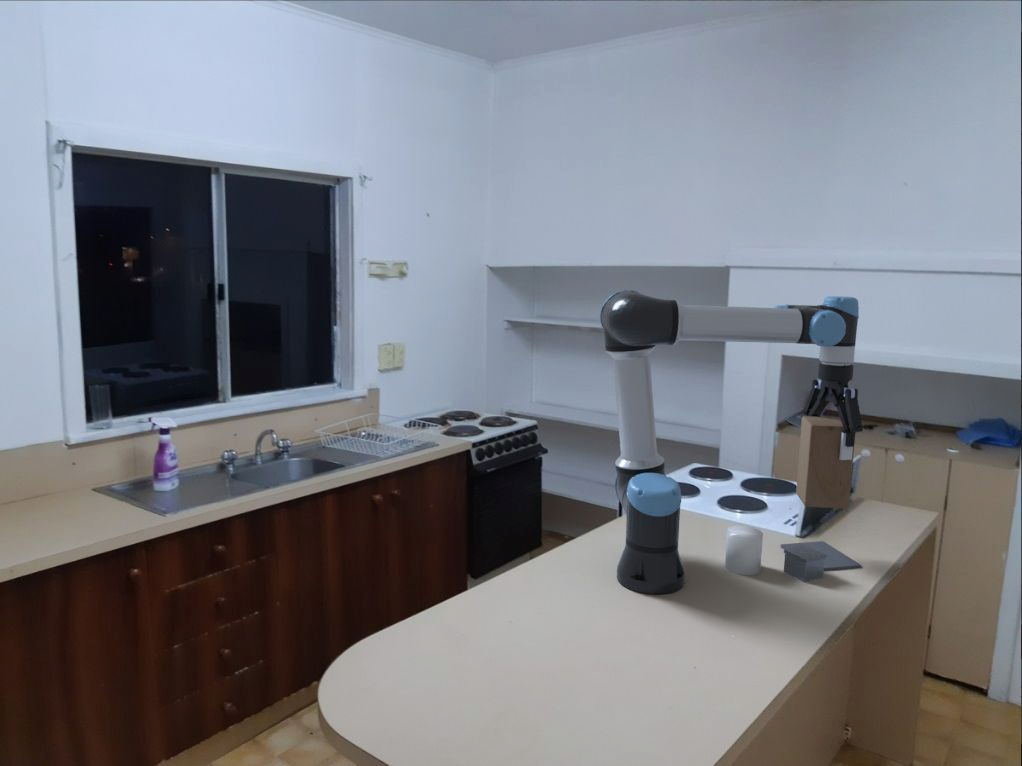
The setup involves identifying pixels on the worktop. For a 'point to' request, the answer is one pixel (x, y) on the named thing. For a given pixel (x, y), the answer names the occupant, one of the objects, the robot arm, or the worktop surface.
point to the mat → (828, 555)
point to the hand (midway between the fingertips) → (828, 452)
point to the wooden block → (823, 464)
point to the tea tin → (804, 563)
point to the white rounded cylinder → (743, 550)
